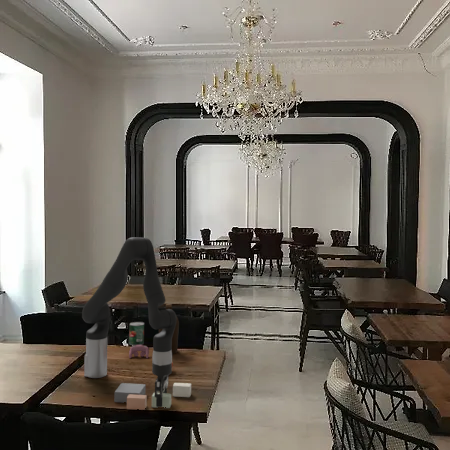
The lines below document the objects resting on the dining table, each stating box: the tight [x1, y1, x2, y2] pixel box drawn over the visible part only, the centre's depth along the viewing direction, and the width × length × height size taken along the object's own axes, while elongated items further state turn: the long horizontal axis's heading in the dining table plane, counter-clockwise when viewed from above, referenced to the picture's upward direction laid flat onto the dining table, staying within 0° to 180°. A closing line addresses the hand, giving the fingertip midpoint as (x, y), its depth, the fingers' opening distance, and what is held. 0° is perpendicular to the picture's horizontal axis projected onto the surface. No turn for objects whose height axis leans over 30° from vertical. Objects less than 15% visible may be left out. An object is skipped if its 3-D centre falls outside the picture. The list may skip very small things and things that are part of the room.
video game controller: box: [128, 344, 150, 359], centre depth 267 cm, size 10×5×7 cm, turn 92°
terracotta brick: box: [126, 394, 148, 411], centre depth 204 cm, size 7×4×4 cm, turn 87°
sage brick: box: [151, 392, 172, 409], centre depth 206 cm, size 7×4×4 cm, turn 85°
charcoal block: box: [113, 382, 147, 404], centre depth 213 cm, size 10×10×4 cm
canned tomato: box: [128, 321, 145, 346], centre depth 290 cm, size 8×8×11 cm
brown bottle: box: [158, 303, 180, 355], centre depth 276 cm, size 11×11×25 cm
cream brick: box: [172, 382, 192, 398], centre depth 218 cm, size 7×4×4 cm, turn 85°
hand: (161, 402), depth 206 cm, fingers open, 8 cm apart
